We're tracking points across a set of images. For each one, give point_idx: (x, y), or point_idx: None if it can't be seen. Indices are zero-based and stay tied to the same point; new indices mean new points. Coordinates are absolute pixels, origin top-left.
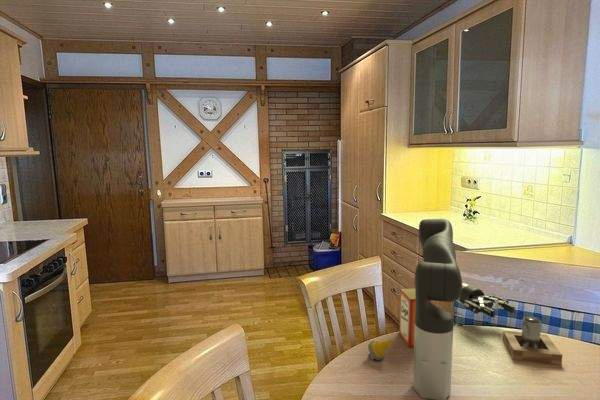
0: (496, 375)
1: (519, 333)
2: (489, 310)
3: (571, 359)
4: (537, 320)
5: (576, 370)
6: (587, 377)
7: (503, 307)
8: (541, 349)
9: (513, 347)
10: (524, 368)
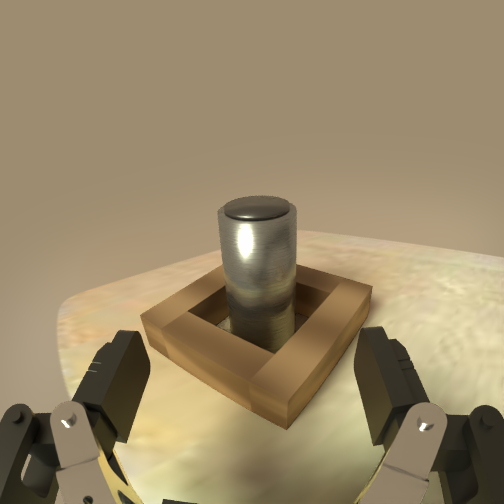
0: (449, 280)
1: (232, 356)
2: (391, 356)
3: None
4: (246, 199)
5: None
6: None
7: (113, 439)
8: None
9: (362, 293)
10: None
